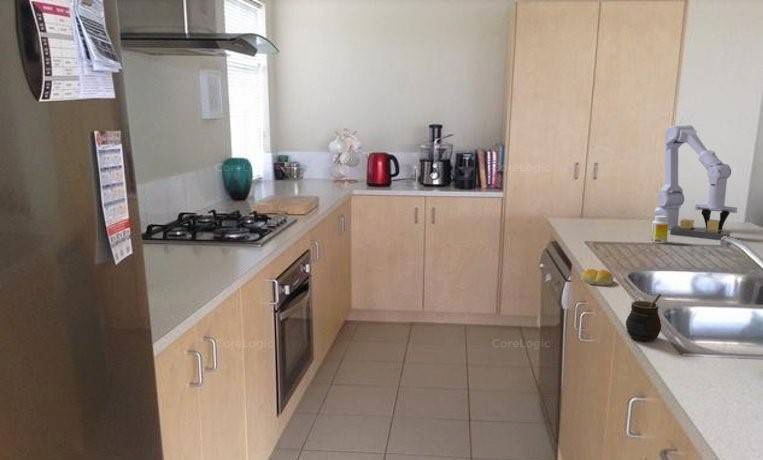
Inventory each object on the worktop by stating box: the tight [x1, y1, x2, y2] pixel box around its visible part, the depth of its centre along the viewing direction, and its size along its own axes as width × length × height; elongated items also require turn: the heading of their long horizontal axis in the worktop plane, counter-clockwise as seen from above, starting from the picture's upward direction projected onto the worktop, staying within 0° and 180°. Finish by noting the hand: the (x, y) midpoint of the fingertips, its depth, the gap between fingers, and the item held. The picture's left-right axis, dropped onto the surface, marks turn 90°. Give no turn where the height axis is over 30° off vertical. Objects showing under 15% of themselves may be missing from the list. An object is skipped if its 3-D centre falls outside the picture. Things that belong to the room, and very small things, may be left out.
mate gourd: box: [625, 293, 662, 342], centre depth 133 cm, size 7×8×10 cm
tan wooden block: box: [707, 218, 720, 233], centre depth 237 cm, size 4×4×6 cm
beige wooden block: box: [679, 218, 695, 230], centre depth 244 cm, size 4×4×6 cm
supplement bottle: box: [650, 216, 669, 244], centre depth 230 cm, size 6×6×10 cm
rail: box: [669, 225, 731, 241], centre depth 241 cm, size 20×8×2 cm, turn 49°
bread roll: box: [581, 268, 614, 286], centre depth 178 cm, size 8×9×4 cm
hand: (713, 229), depth 237 cm, fingers closed on tan wooden block, 4 cm apart
